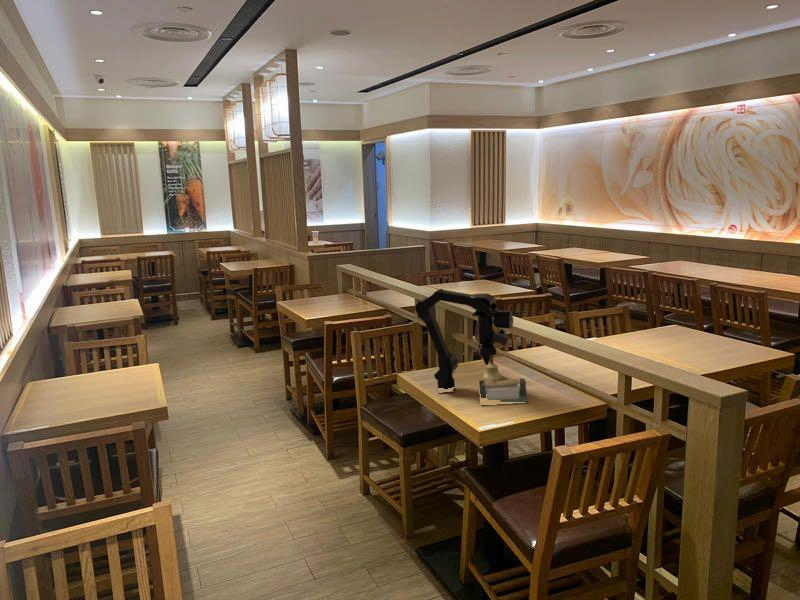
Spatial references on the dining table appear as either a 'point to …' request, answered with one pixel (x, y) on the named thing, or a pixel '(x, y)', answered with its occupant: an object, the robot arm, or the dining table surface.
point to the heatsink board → (505, 392)
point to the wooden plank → (501, 383)
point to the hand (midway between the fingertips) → (487, 364)
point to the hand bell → (492, 371)
